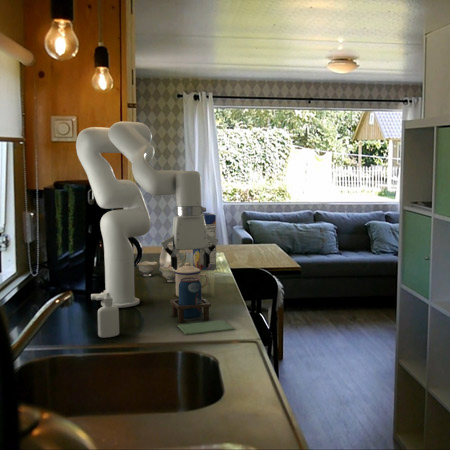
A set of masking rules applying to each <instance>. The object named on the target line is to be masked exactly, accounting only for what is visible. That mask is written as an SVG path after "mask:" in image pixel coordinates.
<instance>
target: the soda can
mask: <svg viewBox="0 0 450 450" xmlns="http://www.w3.org/2000/svg"><path fill="white" fill-rule="evenodd" d="M201 286H202V283H201V280H200V281H199V279H198V278H183V279H181V280H180V283H179V297H178V299H179V302H178V305H183V306H187V305H198V304H203V302H202V298H203V297H202V288H201ZM202 314H203V307H200V308H189V309H184V321H195V320H196V321H197V320H199V319H200V318H201V316H202Z"/></svg>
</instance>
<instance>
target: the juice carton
mask: <svg viewBox="0 0 450 450" xmlns="http://www.w3.org/2000/svg"><path fill="white" fill-rule="evenodd" d="M202 216H204V219H205V224H206V231H207V235H209V236H211V237H214V238H216V239H217V216H216V214H214V213H211V212H203V213H202ZM211 243H212V241H210V240H208V239H207V248H208V247H209V246H210V245H211ZM203 254H204V251H203V250H202V249H192V266H194V267H195V268H198V269H200V271H214V270H217V245H216V246H215V249H214V250H213V251H212V252H211V254H210V264H208V266H209V267H208V268H206V267H204V265H203Z"/></svg>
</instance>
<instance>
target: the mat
mask: <svg viewBox="0 0 450 450" xmlns="http://www.w3.org/2000/svg"><path fill="white" fill-rule="evenodd" d="M176 326H177V327H178V328H179V329H180V331H182V332H183V334H184V335H186V336H187V335H195V334H196V335H197V334H206V333H215V332H227V331H234V330H235V328H234V327H233V326H231V325H230V324H229V323H228V322H226V321H225V320H224V319H222V320H212V321H204V322H201V321H200V322H192V323H180V324H177V325H176Z"/></svg>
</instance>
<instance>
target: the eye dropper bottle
mask: <svg viewBox="0 0 450 450" xmlns="http://www.w3.org/2000/svg"><path fill="white" fill-rule="evenodd" d="M103 305H104V306H101V307H100V308H98V310H97V336H98V337H99V338H102V339H108V338H112V337H116V336H117V337H118V336H119V335H120V311H119V308H117V307H116V306H112V305H113V302H112V297H110V295H109V293H106V297H105V298H103Z"/></svg>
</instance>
